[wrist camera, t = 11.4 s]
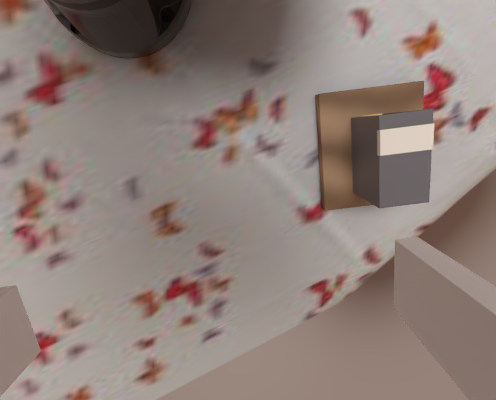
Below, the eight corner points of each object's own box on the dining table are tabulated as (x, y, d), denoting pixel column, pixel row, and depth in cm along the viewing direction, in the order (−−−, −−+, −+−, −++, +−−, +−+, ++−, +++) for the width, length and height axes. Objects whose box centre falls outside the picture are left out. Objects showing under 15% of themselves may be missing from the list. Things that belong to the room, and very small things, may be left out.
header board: (315, 95, 33) (331, 89, 28) (416, 82, 33) (453, 73, 28) (321, 207, 37) (336, 222, 31) (412, 196, 37) (444, 209, 31)
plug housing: (350, 117, 33) (380, 115, 26) (393, 112, 33) (435, 108, 26) (352, 192, 35) (380, 208, 28) (393, 187, 35) (430, 202, 28)
